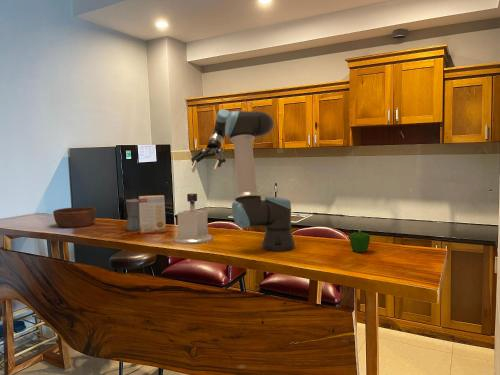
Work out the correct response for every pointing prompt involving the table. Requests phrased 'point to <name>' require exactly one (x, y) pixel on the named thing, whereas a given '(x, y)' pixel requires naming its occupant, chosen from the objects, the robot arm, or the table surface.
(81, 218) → the wooden bowl
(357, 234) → the bell pepper
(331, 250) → the table surface
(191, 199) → the plunger
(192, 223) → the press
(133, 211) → the moka pot
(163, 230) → the cracker box
